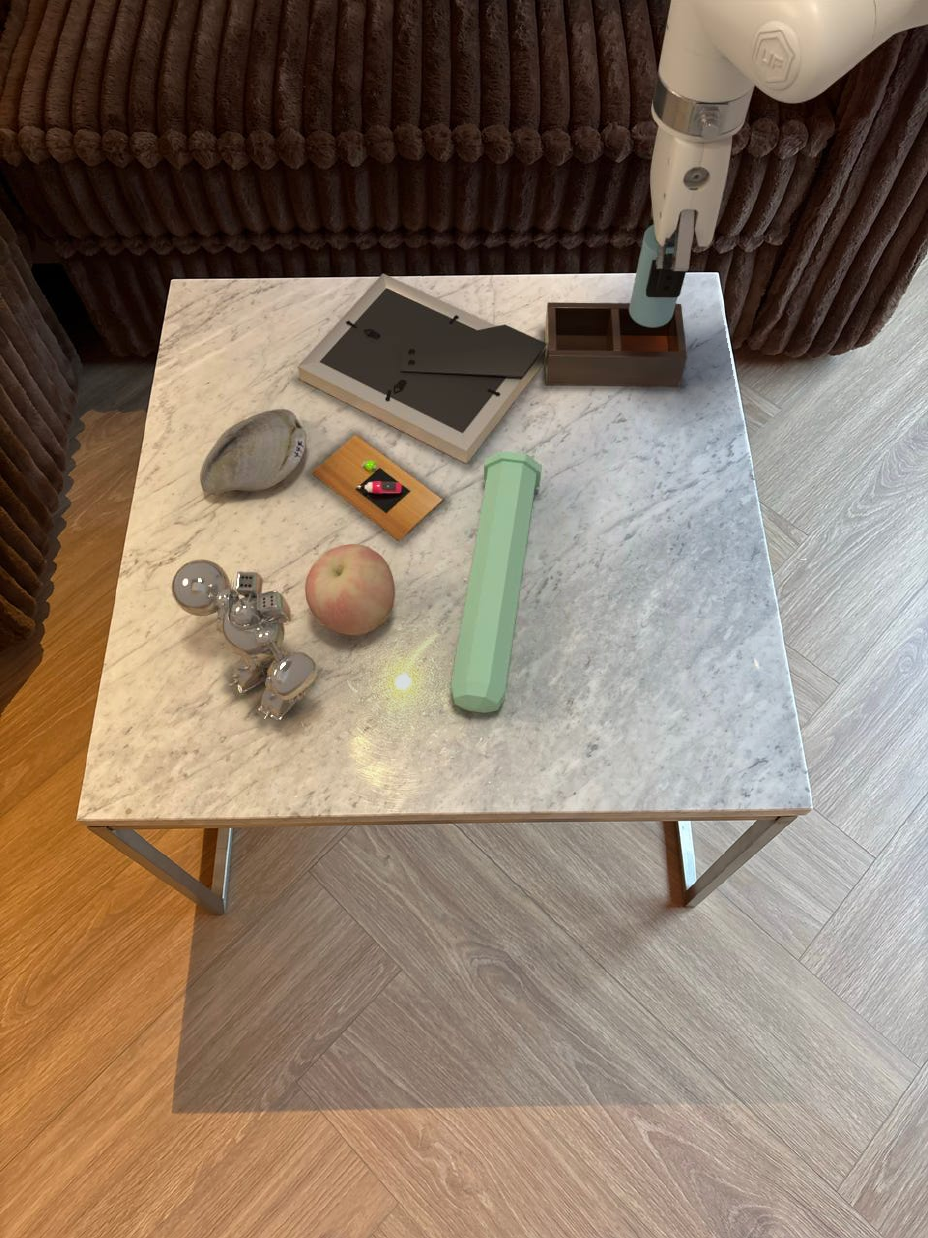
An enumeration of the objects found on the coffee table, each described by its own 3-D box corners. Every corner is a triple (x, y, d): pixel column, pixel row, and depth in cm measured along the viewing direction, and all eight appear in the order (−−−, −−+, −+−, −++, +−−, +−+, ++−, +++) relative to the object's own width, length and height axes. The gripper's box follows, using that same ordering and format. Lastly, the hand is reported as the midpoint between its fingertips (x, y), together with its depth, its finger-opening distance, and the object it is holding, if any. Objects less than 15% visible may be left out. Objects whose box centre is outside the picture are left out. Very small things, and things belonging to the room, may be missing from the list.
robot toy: (183, 641, 86) (130, 556, 73) (235, 597, 88) (193, 507, 75) (291, 747, 81) (256, 677, 68) (343, 699, 83) (319, 621, 70)
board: (356, 435, 97) (354, 426, 95) (442, 500, 93) (442, 491, 92) (311, 473, 94) (309, 464, 93) (398, 541, 91) (397, 532, 89)
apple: (363, 560, 90) (354, 513, 83) (415, 613, 87) (411, 569, 80) (297, 610, 87) (281, 566, 80) (349, 666, 85) (338, 626, 78)
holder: (544, 332, 103) (547, 301, 99) (673, 333, 103) (681, 303, 99) (545, 385, 100) (548, 355, 96) (678, 386, 99) (687, 357, 95)
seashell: (238, 529, 92) (226, 499, 87) (186, 479, 94) (172, 448, 90) (330, 457, 95) (323, 426, 91) (277, 412, 98) (268, 379, 94)
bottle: (671, 295, 96) (691, 212, 87) (674, 327, 94) (696, 246, 85) (627, 294, 96) (644, 212, 87) (630, 327, 94) (647, 246, 85)
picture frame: (544, 362, 101) (384, 287, 106) (546, 343, 98) (382, 267, 104) (466, 464, 95) (300, 379, 100) (466, 446, 92) (296, 361, 97)
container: (494, 695, 77) (531, 447, 88) (429, 696, 79) (473, 454, 90) (519, 722, 82) (551, 483, 92) (457, 722, 84) (495, 489, 95)
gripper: (762, 167, 71) (707, 342, 87) (738, 30, 78) (691, 214, 95) (662, 166, 71) (626, 341, 87) (647, 29, 78) (616, 213, 95)
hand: (660, 273), depth 91 cm, fingers closed on bottle, 4 cm apart
